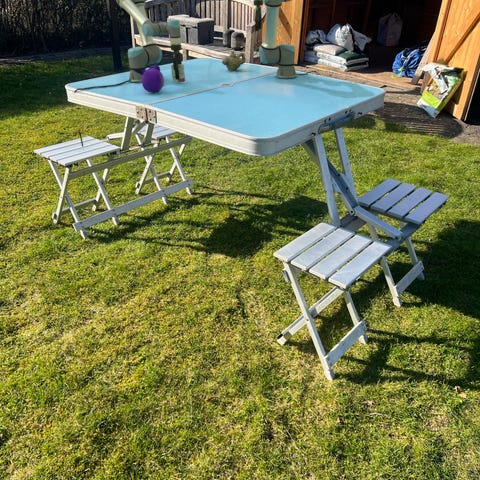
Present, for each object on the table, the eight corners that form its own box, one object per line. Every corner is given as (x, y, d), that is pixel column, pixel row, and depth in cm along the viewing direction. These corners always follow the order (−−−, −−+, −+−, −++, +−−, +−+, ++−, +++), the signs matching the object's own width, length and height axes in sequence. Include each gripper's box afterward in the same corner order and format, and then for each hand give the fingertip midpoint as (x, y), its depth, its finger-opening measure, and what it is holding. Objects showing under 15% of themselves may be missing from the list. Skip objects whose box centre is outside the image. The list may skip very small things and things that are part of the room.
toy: (156, 85, 322) (164, 98, 301) (131, 81, 314) (137, 93, 294) (160, 63, 314) (168, 74, 293) (135, 58, 306) (141, 69, 286)
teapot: (225, 72, 362) (225, 52, 354) (219, 70, 371) (218, 51, 363) (248, 69, 371) (248, 50, 364) (241, 67, 380) (241, 48, 372)
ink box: (185, 81, 330) (184, 64, 324) (183, 82, 326) (182, 65, 320) (174, 80, 332) (173, 63, 326) (172, 82, 328) (170, 65, 322)
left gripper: (174, 42, 325) (177, 76, 336) (166, 45, 309) (169, 80, 321) (184, 42, 323) (187, 76, 335) (176, 45, 308) (179, 81, 320)
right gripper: (256, -1, 358) (256, 28, 369) (250, 0, 337) (250, 31, 347) (265, -1, 356) (265, 28, 367) (260, 0, 335) (260, 31, 346)
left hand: (178, 78), depth 328 cm, fingers closed on ink box, 5 cm apart
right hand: (258, 30), depth 357 cm, fingers open, 13 cm apart
